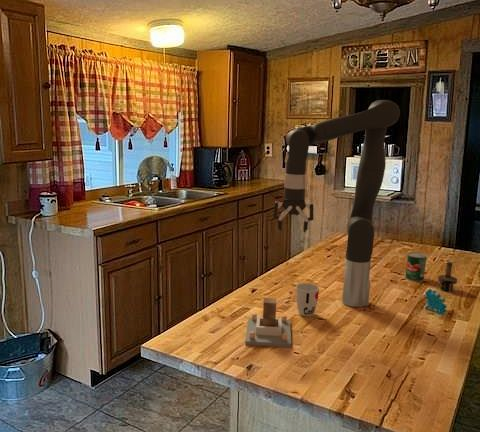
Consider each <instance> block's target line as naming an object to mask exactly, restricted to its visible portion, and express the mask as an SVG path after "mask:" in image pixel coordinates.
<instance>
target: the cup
mask: <svg viewBox="0 0 480 432" xmlns="http://www.w3.org/2000/svg"><path fill="white" fill-rule="evenodd" d="M319 291H320V287H319V286H318V284H313V283H309V282H307V283H306V282H305V283H303V282H302V283H298V284H296V285H295V300H296V308H297V311H298V314H299V315H300V316H302V317H312V316H314V314H315V311H316V308H317V304H318V300H319Z"/></svg>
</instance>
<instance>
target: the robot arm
mask: <svg viewBox="0 0 480 432" xmlns="http://www.w3.org/2000/svg"><path fill="white" fill-rule="evenodd" d="M400 116H401V109H400V107H399V105H398V104H397V103H396V102H394V101H392V100H388V99H377V100H375V101H373V102H371V104H370V105H369V107H368V108H367V109H366V110H363V111H360V112H357V113H353V114H348V115H344V116H338V117H334V118H330V119H326V120H323V121H320V122H317V123H314V124H311V125H306V126H302V127H298V128H295V129H292V130H290V131H289V132H288V133H287V135H286V137H285V141H286V144H287V146H288V157H287V159H286V163H285V175H284V183H283V184H284V185H283V186H284V187H283V201H282V202H280V201H275V202H274V207H273V208H274V209H273V219H275V220H277V229H278V230H279V231H280V232H281V231H282V230H283V220H284V217H287V214H288V215H290V216H293V215H295V216H299V215H300V216H301V217H302V219H303V228H302V229H303V230H302V232H303V233H306V231H308V228H309V227H308V226H309V222H310V221H313V220H314V203H313V202H310V203H306V201H305V200H306V188H307V187H306V186H307V179H306V178H307V177H306V175H307V174H306V171H307V158H308V153H309V148H310V146H312V145H314V144H321V143H325V142H330V141H331V140H332V141H333V140H336V139H338V138H339V139H340V138H342V137H345V136H348V135H351V134H354V133H358V132H362V131H365V132H364V133H365V134H364V141H363V146H362V150H361V154H360V159H359V164H358V168H357V173H356V174H357V175H356V181H355V188H354V191H355V193H354V199H353V201H354V202H353V206H352V208H351V212H350V216H349V219H348V222H347V227H346V229H347V243H346V250H345V258H344V259H345V260H344V261H345V262H344V273H343V284H342V297H341V298H342V299H341V301H342V303H343V304H344V305H346V306H349V307H351V308H353V307H354V308H363V307H369V300H370V289H371V281H370V275H371V274H370V273H371V261H372V256H373V250H374V243H375V242H374V241H375V227H374V225H373V215H374V214H373V213H374V206H375V202H376V200H377V198H378V196H379V193H380V190H381V188H382V184H383V181H384V176H385V172H386V162H387V161H386V150H385V139H386V138H385V137H386V134H387V130H388V127H391V126H393V125H395V124H396V123H397V122H398V121H399V118H400ZM281 207H282V208H283V211H282V212H281V213H280V215H278V211H279V209H280V208H281ZM306 208H307V210H309V216H307V215H306V213H305V212H304V209H306Z"/></svg>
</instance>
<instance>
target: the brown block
mask: <svg viewBox="0 0 480 432" xmlns="http://www.w3.org/2000/svg"><path fill="white" fill-rule="evenodd" d="M276 315H277V298H274V297H273V298H272V297H263V309H262V317H263V326H268V327H275V320H276V318H277V316H276Z"/></svg>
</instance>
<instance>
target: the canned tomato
mask: <svg viewBox="0 0 480 432" xmlns="http://www.w3.org/2000/svg"><path fill="white" fill-rule="evenodd" d="M426 265H427V254H425V253H422V252H416V251H415V252H408V253H407V256H406V268H405V276H404V278H405V280H408V281H410V282H417V283H418V282H423V281H424V280H425V274H426Z"/></svg>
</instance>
